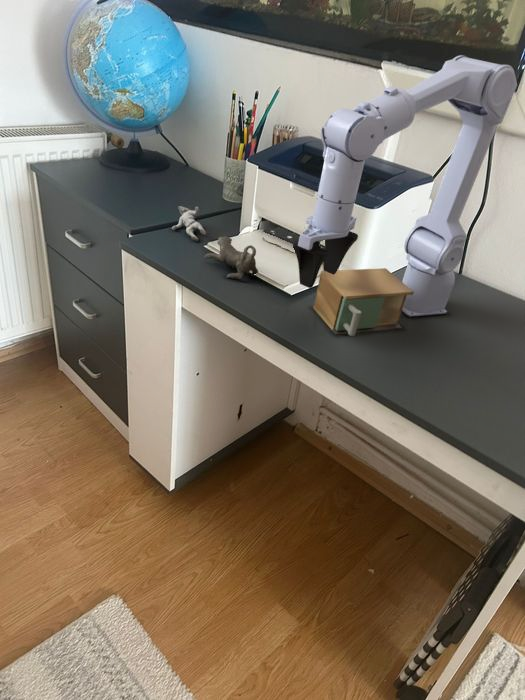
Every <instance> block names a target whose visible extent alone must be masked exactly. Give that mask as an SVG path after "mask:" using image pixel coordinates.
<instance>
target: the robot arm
mask: <svg viewBox="0 0 525 700" xmlns="http://www.w3.org/2000/svg"><path fill="white" fill-rule="evenodd" d="M517 87H518V82H517V78H516V73H515V70H514V68H513V67H512V66H511V65H509V64H500V63H494V62H490V61H485V60H480V59H476V58H471V57H468V56H466V55H463V54H462V55H461V54H460V55H457V56H455V57H454V58H452V59H449V60H446V61H444V64H443V65H442V68H441V69H440V70H438V71H437V72H435V73H434V74H432V75H430V76H428V77H427V78H425V79H423V80H422V81H421V82H419V83H417V84H416V85H413V86H412V87H411V88H408V89H407V90H405V89H404V88H401V87H394V86H391V85H390V86H388V87H386V88H384V89H383V93H382V94H380V95H378V96H376V97H373V98H372V99H370V100H367V101H364V100H363V101H361V102H358V104H357V106H355V107H353V108H352V109H349V108H345V107H343V108H339V109H337V110H336V111H335V112H332V114H330V115H329V117H328V118H327V119H326V122H325V124H324V126H322V127H321V129H320V139H321V142H322V146H323V152H322V157H323V164H322V165H323V166H322V171H321V175H320V181H319V185H318V190H317V196H316V200H315V205H314V210H313V216H308V217H306V218H305V223H306V224H308V225H307V226H306V227H305V228H306V230H305V231H304V232H303V233H301V234H300V237H299V238H298V239H296V240H294V243H293V248H294V250H295V253H296V254H295V253H294V254H295V256H296V258H297V265H298V275H299V276H298V277H299V278H298V279H299V284H300V285H301V286H303V287H306V288H308V289H311V288H313V287H314V285H315V283H316V280H317V278H318V275H319V271H320V269H321V267H323V268H322V269H323V270H322V271H326V272H328V273H331V274H333V275H334V274H335V273H336V272H337V270H339V268H340V266H341V264H342V262H343V260H344V258H345V256H346V254H347V253H348V251H349V250H350V249H351V247H352V246H353V245H354V244H355V242H357V240H358V238H359V235H358V233H356V232H354V231H352V230H354V229H355V226H356V222H357V217H355V216H353V211H354V206H355V203H356V200H357V195H358V190H359V187H360V182H361V178H362V174H363V170H364V166H365V162H366V160H368V159H370V158H371V157H372V156H373V155H374V154H375V152H376V150H377V149H378V147H379V146H380V145H381V144H383V142H384V141H385V140H387V139H388V138H390V137H392V136H394V135H396V134H398V133H400V132H402V131H403V130H405V129H407V128H408V127H410V126H411V125H412V123H413V121H414V119H415V115H417V114H419V113H421V112H424V111H426V110H429V109H431V108H433V107H435V106H438V105H440V104H442V103H445V102H447V101H448V103H449V104H450V105H451V106H452V107H453V108H454V109H455V110H456V111H457V112H458V114H459V116H460V119H461V122H462V128H461V129H460V131H459V135H458V138H457V140H456V143H455V146H454V148H453V151H452V153H451V156H450V158H449V161H448V164H447V167H446V168H445V172H444V175H443V177H442V180H441V183H440V186H439V188H438V190H437V193H436V197H435V199H434V201H433V204H432V206H431V210H430V213H428V214H425V215H422V216H420V217H418V218H416V220H415V222H414V225H413V227H412V229H411V230H410V231H409V232H408V234H407V236H406V238H405V240H404V244H403V245H404V247H403V248H404V252H405V253H406V254H407V255H406V259H405V260H407V261H408V262H407V265H406V267H405V268H406V269H405V272H404V275H403V278H402V280H401V282H403V283H404V284H405V285H406V286H407V287H409V288H410V289H411V290H412V291H413V292H414V293H413V295H407V297H406V300H405V303H404V306H403V309H402V312H403V313H404V314H405V315H406V316H407V317H421V316H434V315H445V314H447V313H448V310H446V306H447V304H448V301H449V299H450V296H451V294H452V291H453V288H454V287H455V286H454V285H455V281H456V276H455V271H454V270H455V269H456V268H457V267H458V265H460V263H461V261H462V259H463V255H464V247H465V244H466V240H467V238H468V236H467V233H466V231H465V230H464V227H463V226H462V224H461V222H460V219H461V217H462V214H463V211H464V209H465V207H466V204H467V202H468V200H469V198H470V194H471V193H472V189H473V187H474V185H475V182H476V180H477V177H478V175H479V173H480V171H481V167H482V165H483V162H484V160H485V158H486V155H487V152H488V150H489V148H490V145H491V143H492V140H493V138H494V135H495V133H496V130H497V128H498V125H500V124H502V123H503V120H504V118H505V116H506V113H507V111H508V110H509V106H510V104H511V102H512V99H513V96H514V95H515V91H516V89H517ZM323 240H325V250H324V249H322V248H321V246H319V245H320V242H321V241H323ZM322 265H323V266H322Z"/></svg>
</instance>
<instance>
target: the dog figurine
mask: <svg viewBox="0 0 525 700" xmlns="http://www.w3.org/2000/svg"><path fill="white" fill-rule="evenodd" d="M217 238H218V240H217V241H216V244H217V245H219V253H216V252H215V253H214V252H207V253H206V254H205V255H203V257H204V258H205V259H215V260H217V261H218V262H220V263H224V264H226V265H228V266H229V267H231V268H232V269H233V270H235V269H236V271H237V272H230V273H228V274H227V275H226V276H225V277H226V278H227V279H238V280H241V279H242V278H243V277H244V274H246V275H249V274H250V276H251V277H253V278H254V277H256V276H257V274H258V273H259V270H258V268H257V265H256V264H257V262H256V258H255V257H256V255H257V249H256V247H255V246H254V245H251V244H250V245H246V247H244V249H243V251H239V250H237V248H235V247H234V246H233V245H232V240H233V239H232V238H231V237H229V236H219V237H217ZM249 249H251V250H252V252H251V253H250V252H248V250H249ZM250 272H252V273H250ZM256 273H257V274H256ZM254 274H256V275H254Z"/></svg>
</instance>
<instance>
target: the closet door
mask: <svg viewBox="0 0 525 700" xmlns="http://www.w3.org/2000/svg"><path fill="white" fill-rule="evenodd" d="M384 299H385V297H370V298H355V299H345V298H343V300H342V304H341V308H340V312H339V316H338V320H337V323H336V327H335V329H336V330H337V331H340V330H347V331H348V334H347V335H348V336H351V337H354V336H356V334H357V333H356V330H357V329H361V328H372V327H376V325H377V321H378V318H379V315H380V312H381V308H382V305H383V302H384Z"/></svg>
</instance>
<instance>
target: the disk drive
mask: <svg viewBox="0 0 525 700" xmlns="http://www.w3.org/2000/svg"><path fill="white" fill-rule="evenodd" d="M272 228H273V227H267V228H264V229H263V231H262V233H263V232H265V233H267V234H270V235H273V236H276V237H278V238H280V239H282V240H285V241H287V242H290V243H292V244H293V243H294V240H296V239H298V238H299V237H300V236H298V235H296V234H294V233H291V232H289V231H288V230H285V229H283V228H280V227H277V228H275V229H272ZM319 246H320V245H319ZM321 248H322V249H325V248H324V247H322V246H321Z"/></svg>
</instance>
